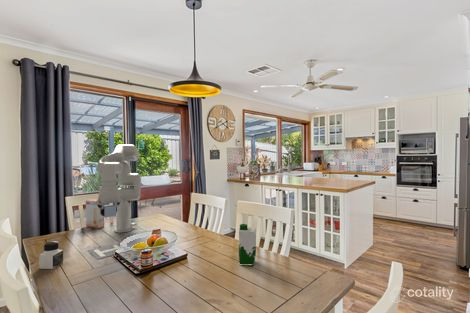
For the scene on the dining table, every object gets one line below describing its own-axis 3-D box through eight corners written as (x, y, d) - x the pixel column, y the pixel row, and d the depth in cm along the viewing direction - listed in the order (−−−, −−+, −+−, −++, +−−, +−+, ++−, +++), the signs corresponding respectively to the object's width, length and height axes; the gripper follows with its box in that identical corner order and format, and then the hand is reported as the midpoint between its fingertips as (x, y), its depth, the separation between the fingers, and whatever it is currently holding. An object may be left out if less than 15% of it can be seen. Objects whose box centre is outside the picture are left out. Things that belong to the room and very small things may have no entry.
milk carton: (240, 258, 137) (240, 222, 137) (256, 260, 136) (257, 223, 135) (237, 265, 129) (237, 227, 129) (254, 267, 127) (255, 228, 127)
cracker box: (104, 227, 194) (104, 200, 194) (97, 229, 188) (97, 201, 188) (92, 224, 200) (92, 198, 200) (85, 226, 194) (85, 199, 194)
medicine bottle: (53, 269, 123) (53, 245, 123) (38, 269, 124) (38, 244, 123) (63, 263, 130) (63, 240, 130) (50, 262, 131) (49, 239, 130)
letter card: (119, 243, 160) (119, 242, 160) (130, 250, 148) (130, 250, 148) (87, 251, 147) (87, 250, 147) (97, 259, 135) (97, 259, 135)
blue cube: (112, 214, 151) (112, 204, 151) (116, 215, 147) (116, 205, 147) (101, 215, 147) (101, 205, 147) (105, 217, 143) (105, 207, 143)
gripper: (121, 182, 155) (121, 211, 156) (90, 184, 143) (90, 216, 143) (126, 183, 150) (126, 213, 150) (94, 185, 138) (94, 218, 138)
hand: (108, 214), depth 147 cm, fingers closed on blue cube, 6 cm apart
